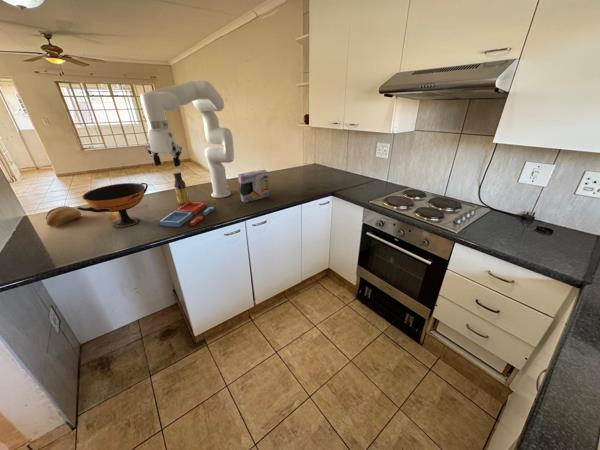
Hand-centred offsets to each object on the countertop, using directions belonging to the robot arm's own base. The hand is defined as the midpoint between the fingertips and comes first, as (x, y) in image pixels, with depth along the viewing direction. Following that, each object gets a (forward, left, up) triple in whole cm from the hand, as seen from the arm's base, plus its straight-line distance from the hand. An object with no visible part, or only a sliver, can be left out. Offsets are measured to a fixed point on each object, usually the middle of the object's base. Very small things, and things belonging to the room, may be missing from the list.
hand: (168, 165), depth 112 cm
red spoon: (-5, +5, -31) cm, 32 cm away
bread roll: (+6, -64, -31) cm, 72 cm away
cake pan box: (-41, +25, -31) cm, 57 cm away
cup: (+2, -31, -31) cm, 44 cm away
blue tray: (-5, -6, -31) cm, 32 cm away
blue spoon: (-18, +5, -31) cm, 36 cm away
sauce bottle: (-27, -16, -31) cm, 44 cm away
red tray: (-19, -6, -31) cm, 37 cm away
